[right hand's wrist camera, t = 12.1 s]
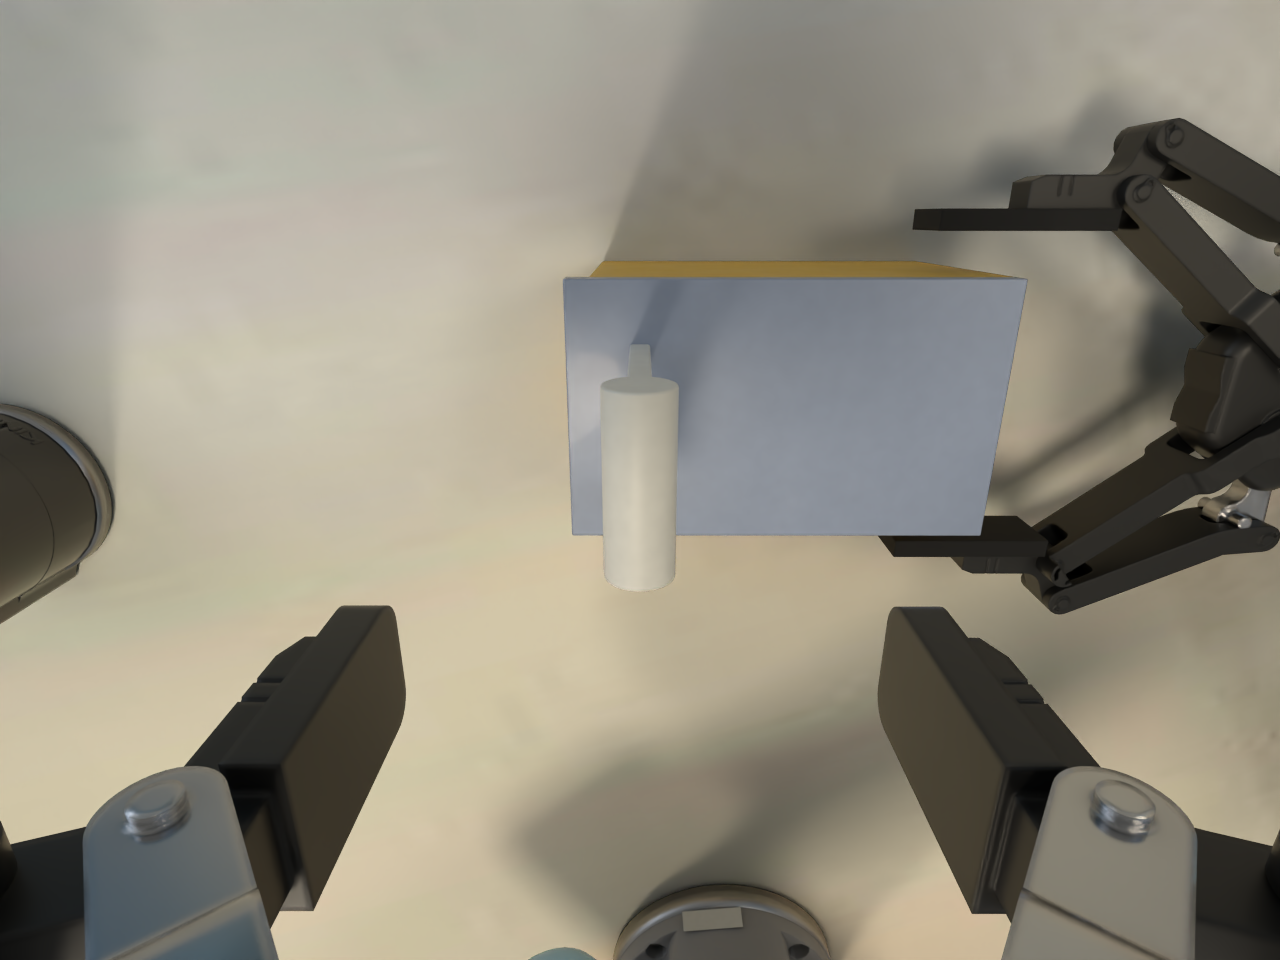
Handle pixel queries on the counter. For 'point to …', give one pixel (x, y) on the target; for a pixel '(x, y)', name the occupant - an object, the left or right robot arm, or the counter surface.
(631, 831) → the counter surface
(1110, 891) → the right robot arm
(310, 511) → the counter surface
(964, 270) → the chest
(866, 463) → the lid
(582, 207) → the counter surface
